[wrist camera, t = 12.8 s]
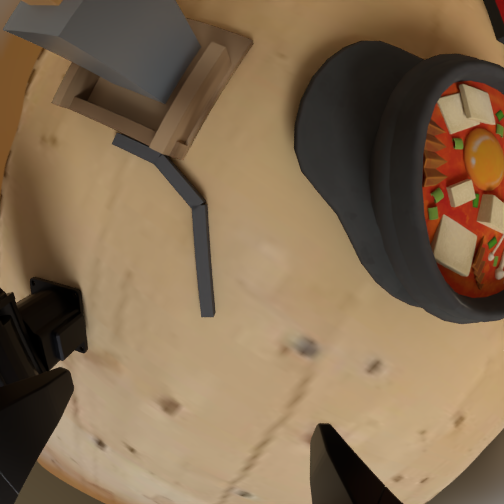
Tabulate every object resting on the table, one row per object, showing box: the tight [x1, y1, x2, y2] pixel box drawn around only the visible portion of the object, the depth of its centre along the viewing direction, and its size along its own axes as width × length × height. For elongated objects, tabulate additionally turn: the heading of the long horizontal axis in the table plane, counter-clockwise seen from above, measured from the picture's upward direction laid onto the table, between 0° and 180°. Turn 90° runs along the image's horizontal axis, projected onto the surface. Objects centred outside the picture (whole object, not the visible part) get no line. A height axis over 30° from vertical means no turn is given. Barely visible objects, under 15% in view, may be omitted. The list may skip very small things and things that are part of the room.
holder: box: [52, 18, 253, 160], centre depth 16 cm, size 10×11×4 cm
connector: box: [3, 0, 201, 104], centre depth 11 cm, size 5×5×13 cm
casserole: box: [294, 41, 504, 324], centre depth 14 cm, size 25×19×8 cm
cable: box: [112, 133, 215, 317], centre depth 20 cm, size 4×15×1 cm, turn 27°
